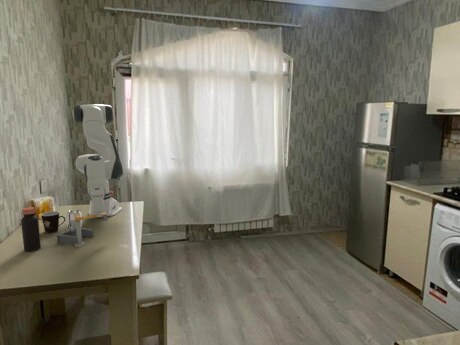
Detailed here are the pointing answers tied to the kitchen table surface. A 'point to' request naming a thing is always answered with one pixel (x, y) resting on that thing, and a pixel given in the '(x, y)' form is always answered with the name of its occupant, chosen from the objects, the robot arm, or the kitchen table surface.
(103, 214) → the bar
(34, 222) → the bottle
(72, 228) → the beer glass
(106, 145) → the robot arm
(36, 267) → the kitchen table surface
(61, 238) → the cradle
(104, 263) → the kitchen table surface
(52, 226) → the coffee mug
